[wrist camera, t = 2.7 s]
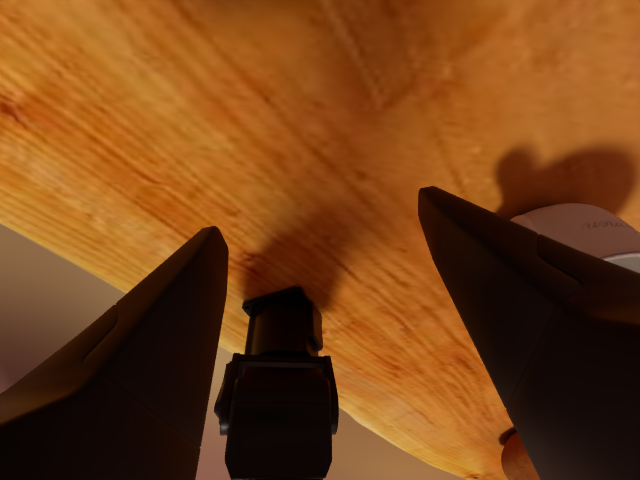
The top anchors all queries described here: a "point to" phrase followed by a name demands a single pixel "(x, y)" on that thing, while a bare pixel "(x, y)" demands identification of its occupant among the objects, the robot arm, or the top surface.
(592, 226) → the teacup
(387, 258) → the top surface
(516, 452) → the bread
